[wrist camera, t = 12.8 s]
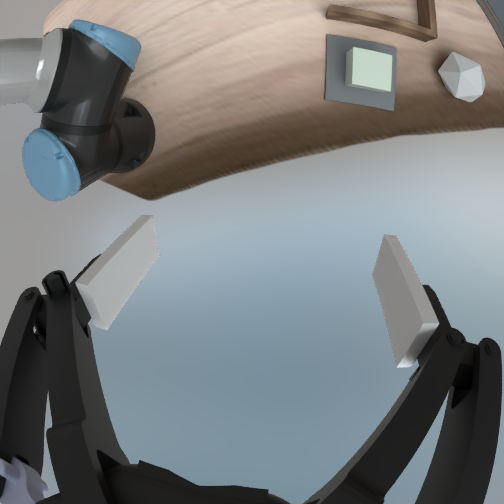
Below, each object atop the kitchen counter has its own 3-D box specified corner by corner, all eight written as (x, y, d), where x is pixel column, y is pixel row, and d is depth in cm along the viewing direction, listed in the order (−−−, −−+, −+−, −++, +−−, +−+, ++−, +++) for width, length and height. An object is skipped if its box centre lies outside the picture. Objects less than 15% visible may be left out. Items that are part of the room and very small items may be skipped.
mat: (324, 99, 39) (325, 99, 38) (326, 35, 32) (327, 34, 32) (392, 110, 37) (393, 111, 37) (395, 48, 31) (396, 47, 30)
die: (422, 76, 33) (458, 110, 28) (437, 37, 25) (479, 68, 21) (449, 84, 34) (482, 117, 30) (464, 50, 26) (502, 81, 22)
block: (345, 85, 36) (352, 83, 31) (346, 52, 33) (353, 46, 28) (379, 91, 36) (390, 91, 31) (380, 59, 32) (392, 55, 27)
